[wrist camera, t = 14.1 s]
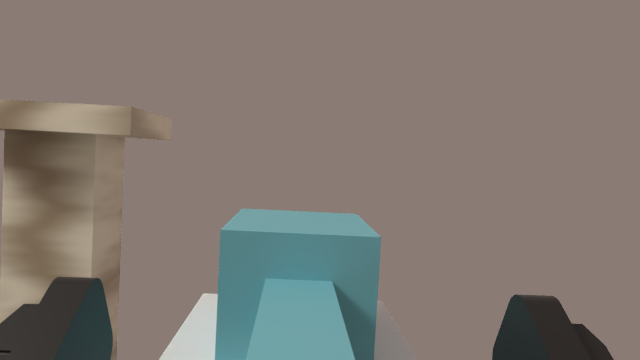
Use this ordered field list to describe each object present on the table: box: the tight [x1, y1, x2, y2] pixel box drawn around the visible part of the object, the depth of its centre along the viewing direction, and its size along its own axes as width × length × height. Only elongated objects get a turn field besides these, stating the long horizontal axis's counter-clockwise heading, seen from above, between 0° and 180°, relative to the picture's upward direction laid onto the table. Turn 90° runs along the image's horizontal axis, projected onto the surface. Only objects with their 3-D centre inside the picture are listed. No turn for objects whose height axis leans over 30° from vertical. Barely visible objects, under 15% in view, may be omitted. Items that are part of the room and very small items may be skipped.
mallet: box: [215, 209, 381, 360], centre depth 19 cm, size 6×18×5 cm, turn 3°
